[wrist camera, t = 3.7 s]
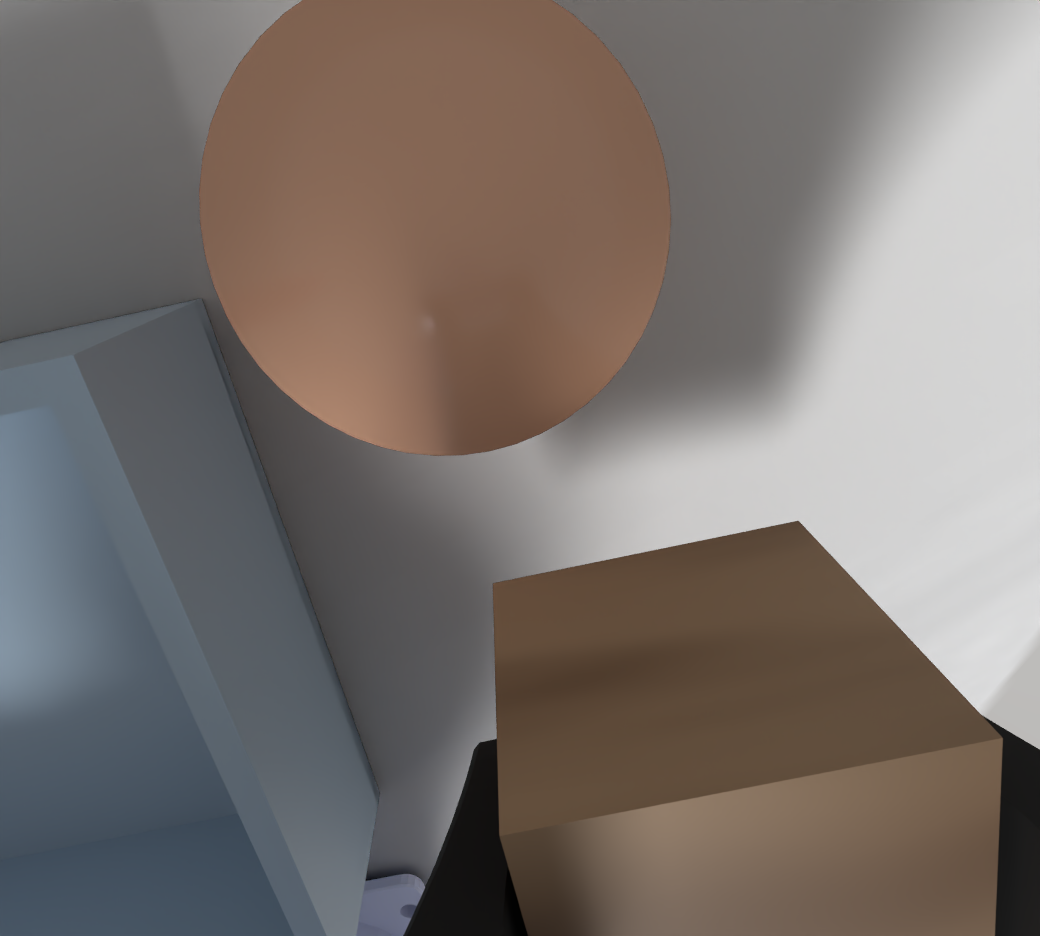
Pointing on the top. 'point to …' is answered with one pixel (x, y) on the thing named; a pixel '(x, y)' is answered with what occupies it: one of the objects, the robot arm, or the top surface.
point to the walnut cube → (735, 752)
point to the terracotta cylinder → (435, 217)
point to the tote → (161, 657)
